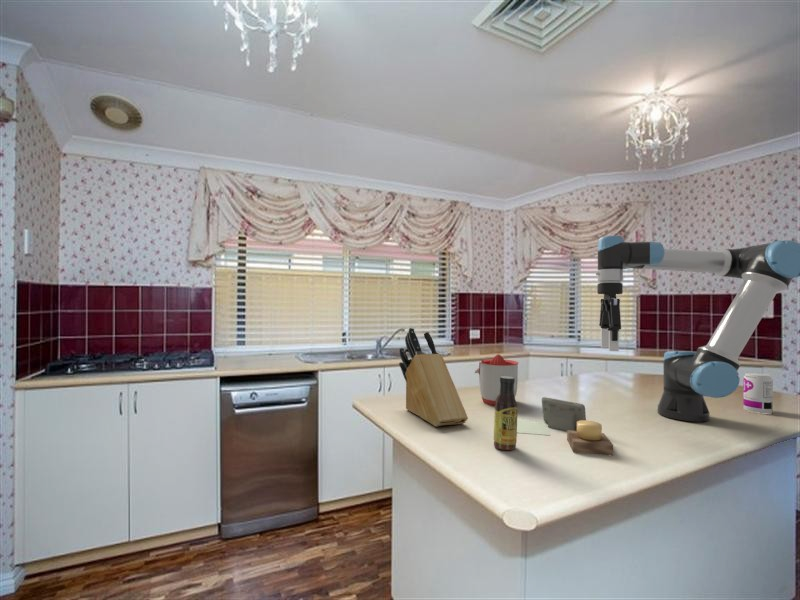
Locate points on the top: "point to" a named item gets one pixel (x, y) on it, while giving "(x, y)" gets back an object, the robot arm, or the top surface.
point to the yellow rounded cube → (589, 430)
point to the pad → (531, 427)
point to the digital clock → (562, 413)
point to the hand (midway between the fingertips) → (609, 349)
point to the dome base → (589, 444)
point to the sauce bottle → (505, 415)
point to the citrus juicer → (495, 377)
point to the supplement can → (758, 393)
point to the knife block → (429, 384)
